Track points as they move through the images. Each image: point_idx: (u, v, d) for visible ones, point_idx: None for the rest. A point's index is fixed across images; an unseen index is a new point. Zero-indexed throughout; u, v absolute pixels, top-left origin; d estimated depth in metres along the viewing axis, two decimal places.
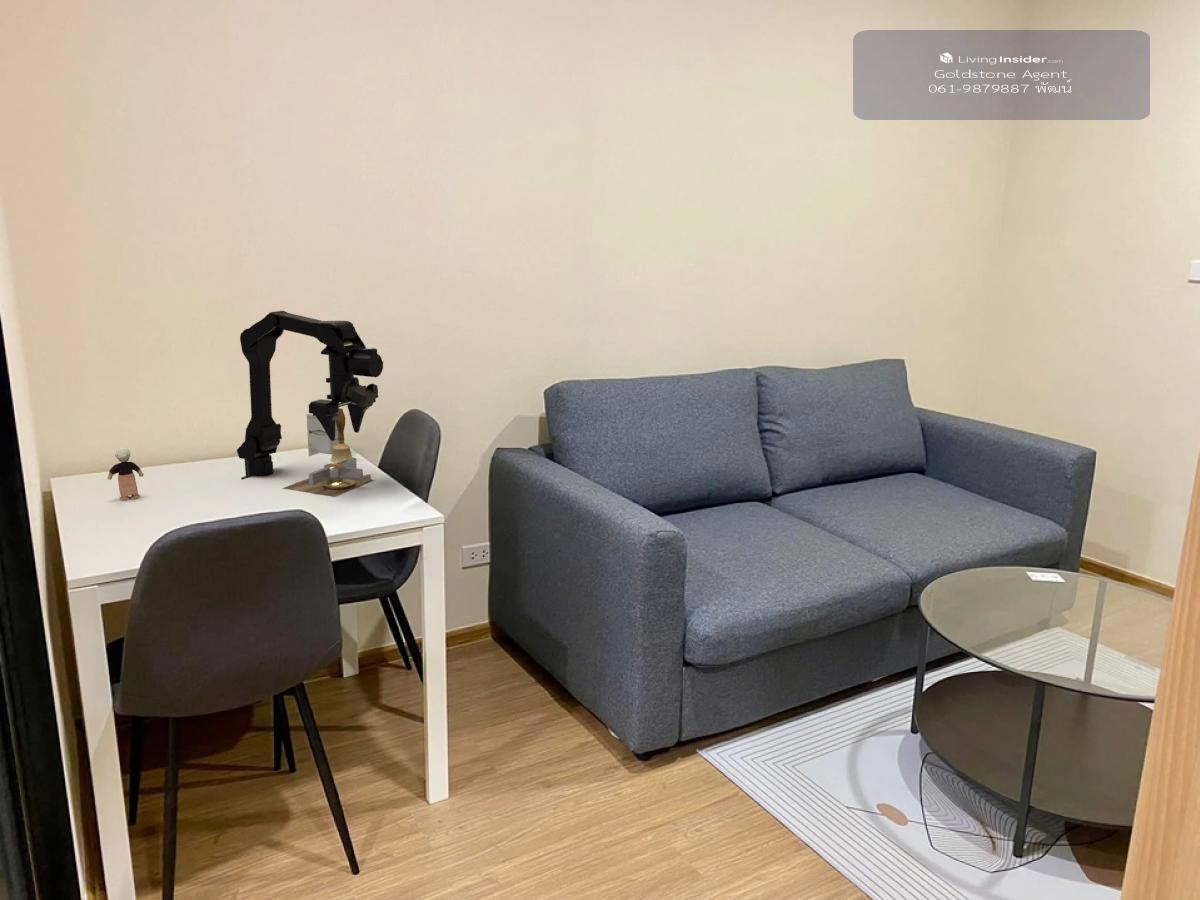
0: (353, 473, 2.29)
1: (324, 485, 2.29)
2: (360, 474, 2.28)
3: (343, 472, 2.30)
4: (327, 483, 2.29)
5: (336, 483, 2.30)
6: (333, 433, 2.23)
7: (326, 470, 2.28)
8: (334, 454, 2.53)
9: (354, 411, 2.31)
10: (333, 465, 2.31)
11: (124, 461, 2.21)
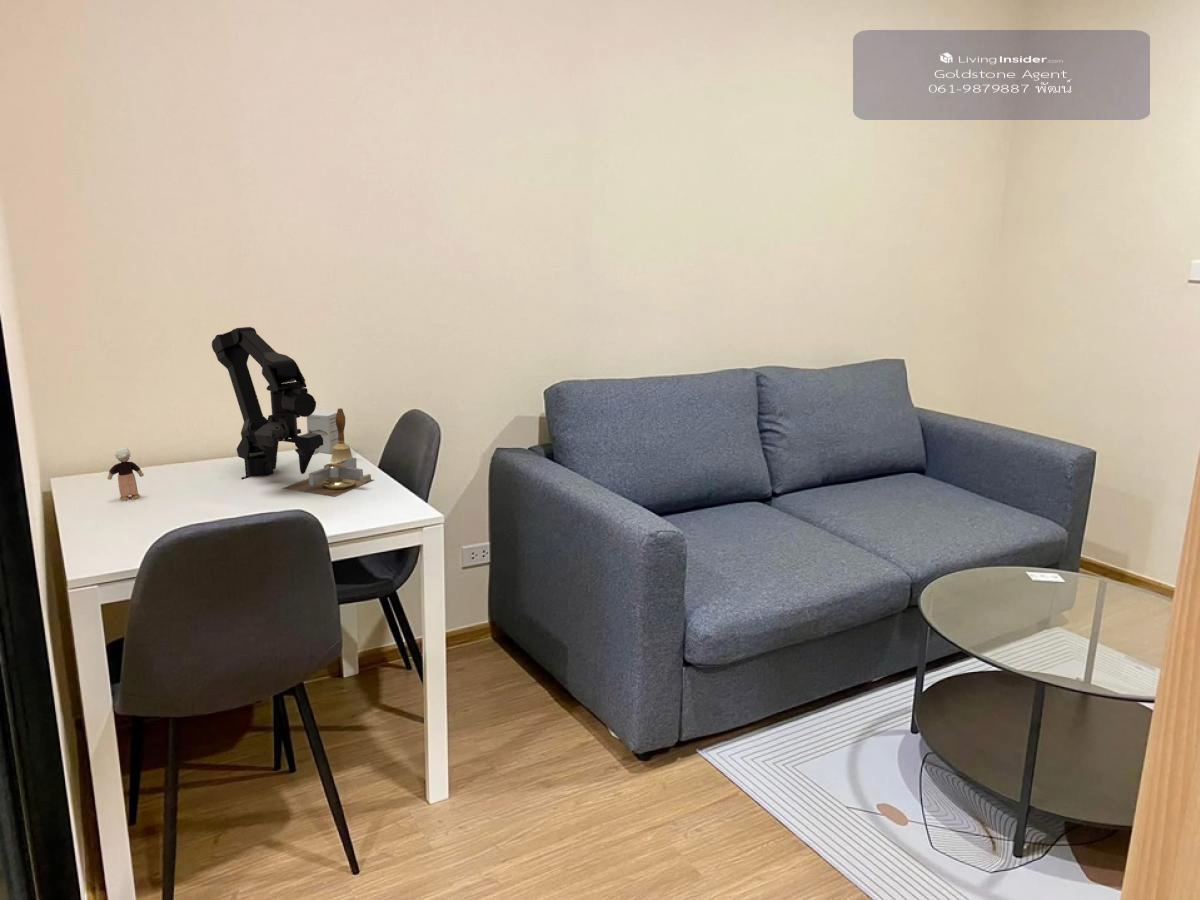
0: (353, 473, 2.29)
1: (324, 485, 2.29)
2: (360, 474, 2.28)
3: (343, 472, 2.30)
4: (327, 483, 2.29)
5: (336, 483, 2.30)
6: (268, 462, 2.32)
7: (326, 470, 2.28)
8: (334, 454, 2.53)
9: None
10: (333, 465, 2.31)
11: (124, 461, 2.21)
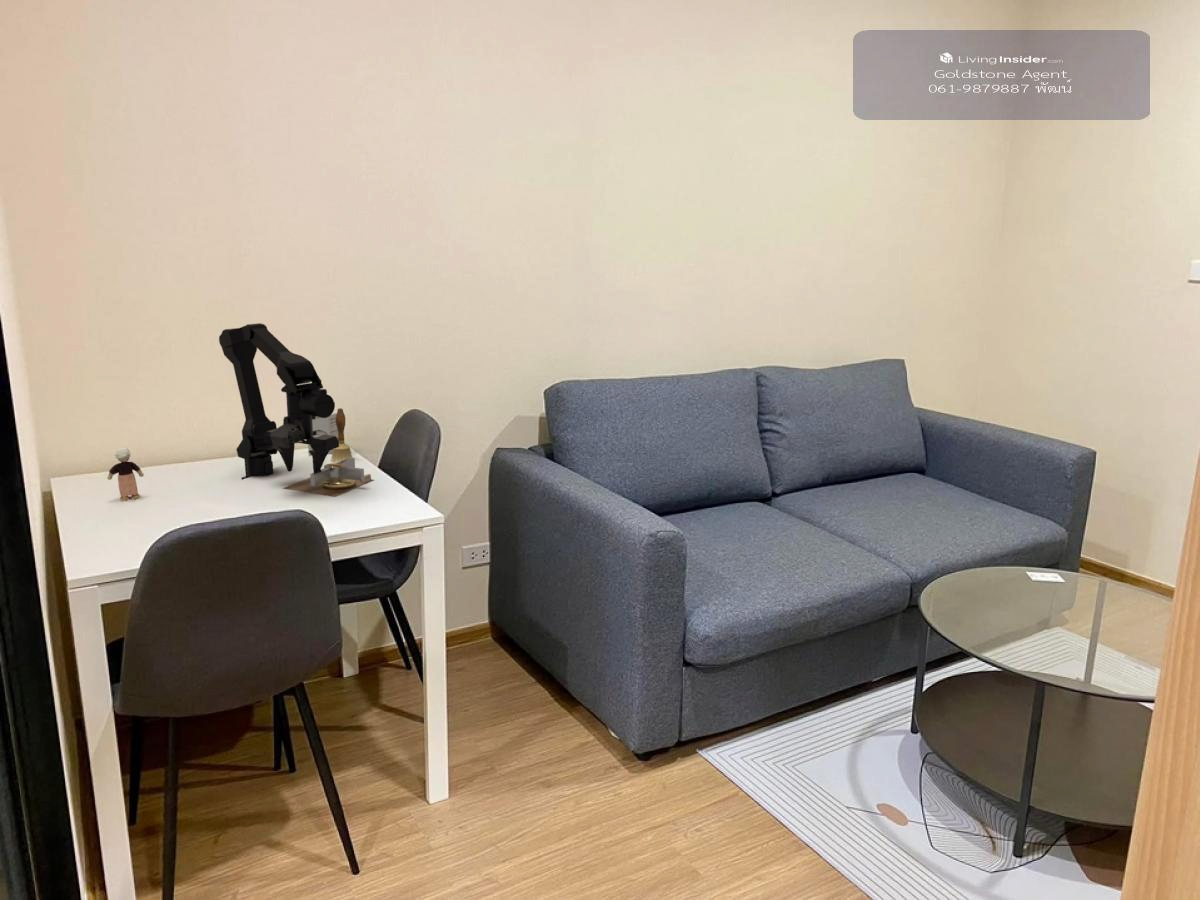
0: (354, 473, 2.29)
1: (325, 485, 2.29)
2: (361, 474, 2.29)
3: (343, 472, 2.30)
4: (328, 483, 2.29)
5: (337, 483, 2.30)
6: (285, 464, 2.30)
7: (327, 470, 2.28)
8: (334, 454, 2.53)
9: None
10: (333, 465, 2.31)
11: (124, 461, 2.21)
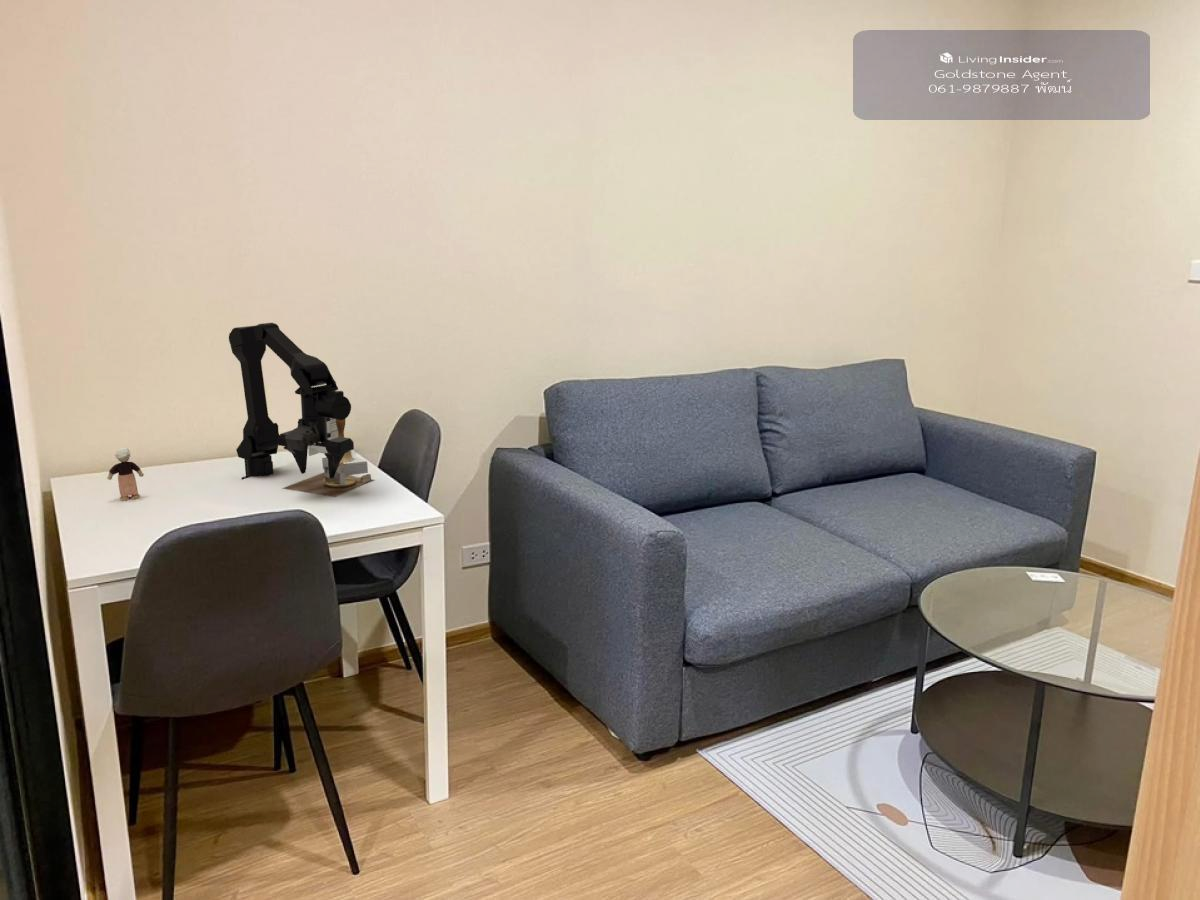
0: (360, 467, 2.35)
1: (337, 485, 2.30)
2: (367, 466, 2.36)
3: (347, 468, 2.33)
4: None
5: (346, 480, 2.32)
6: (299, 466, 2.28)
7: None
8: None
9: None
10: None
11: (124, 461, 2.21)
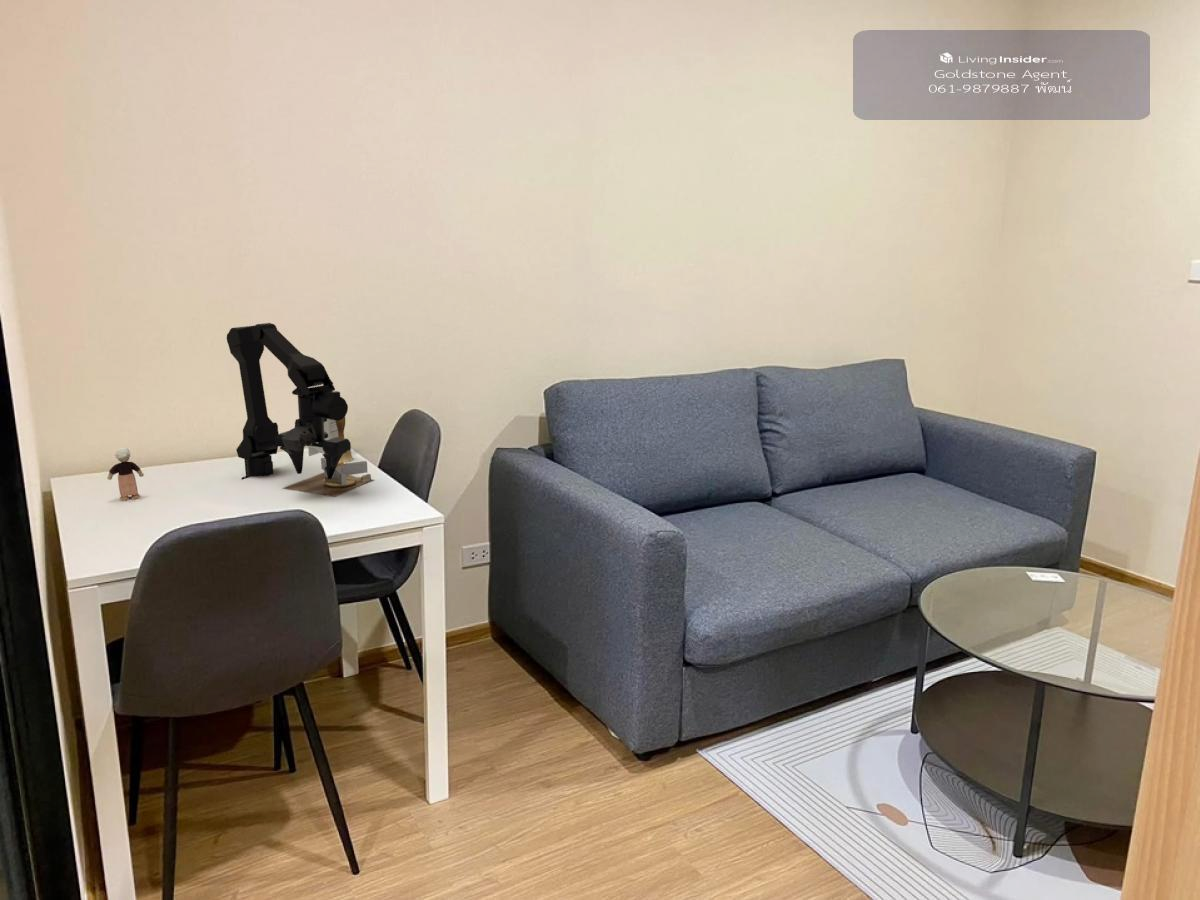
0: (359, 466, 2.35)
1: (338, 485, 2.30)
2: (366, 465, 2.36)
3: (347, 468, 2.33)
4: (340, 482, 2.30)
5: (346, 480, 2.32)
6: (295, 466, 2.29)
7: None
8: None
9: None
10: None
11: (124, 461, 2.21)
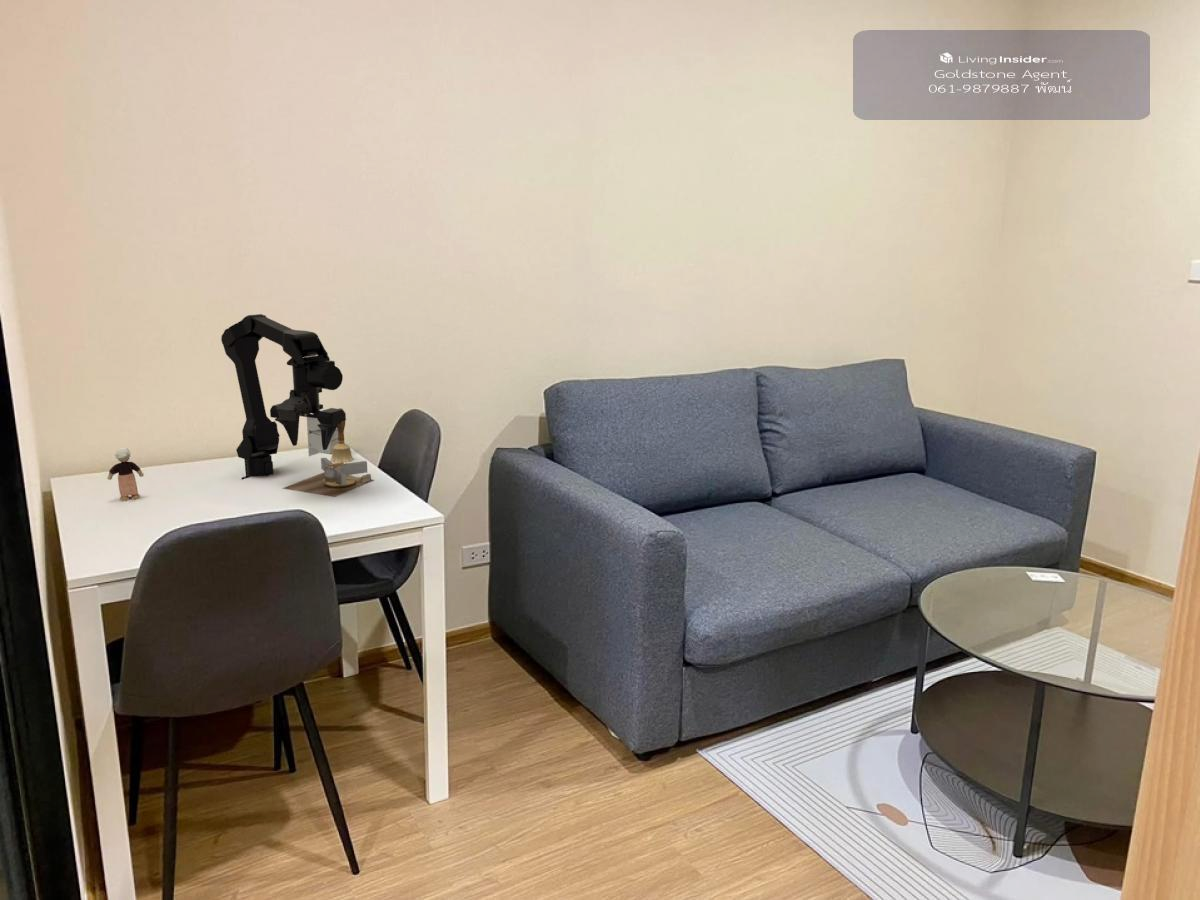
0: (359, 466, 2.35)
1: (338, 485, 2.30)
2: (366, 465, 2.36)
3: (347, 468, 2.33)
4: (340, 482, 2.30)
5: (346, 480, 2.32)
6: (290, 438, 2.28)
7: None
8: (334, 454, 2.53)
9: None
10: (335, 465, 2.31)
11: (124, 461, 2.21)
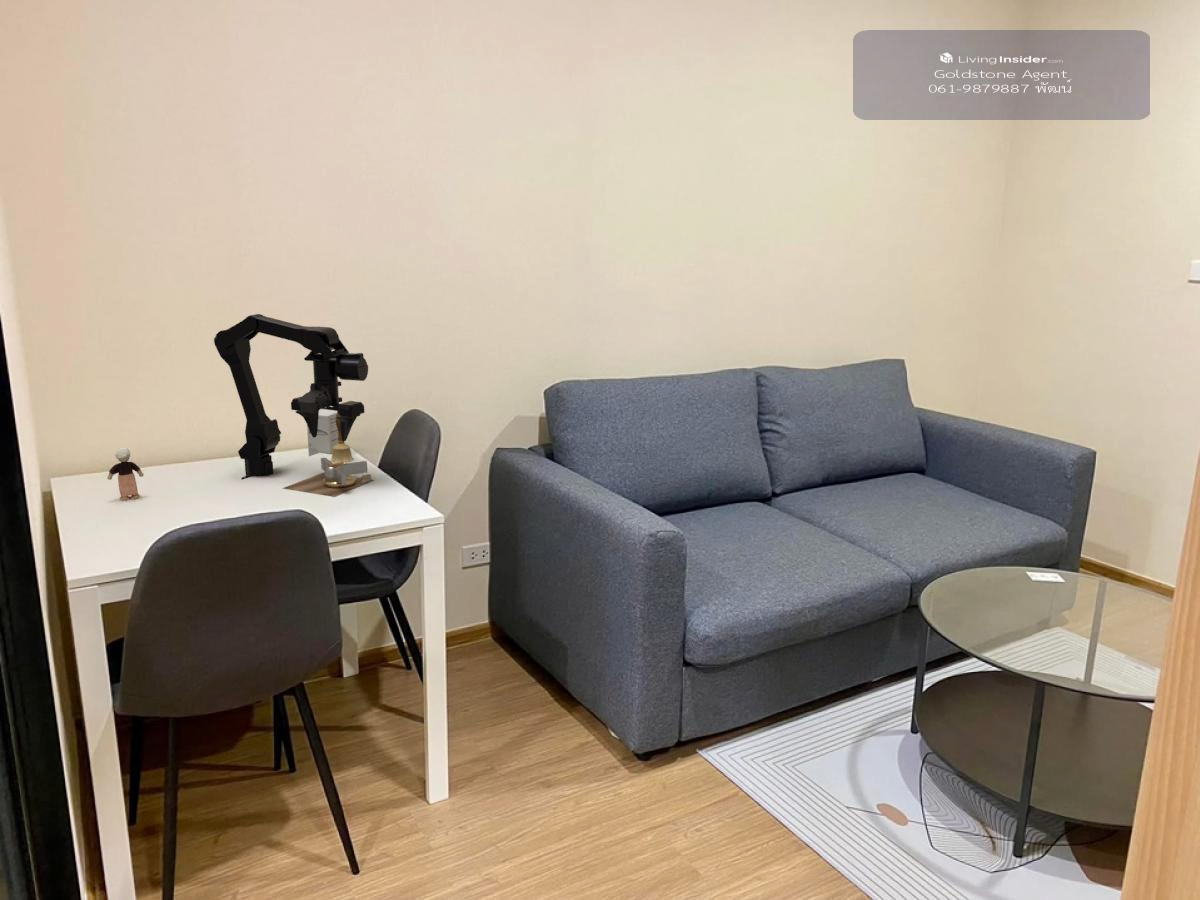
0: (359, 466, 2.35)
1: (338, 485, 2.30)
2: (366, 465, 2.36)
3: (347, 468, 2.33)
4: (340, 482, 2.30)
5: (346, 480, 2.32)
6: (310, 430, 2.36)
7: None
8: (334, 454, 2.53)
9: None
10: (335, 465, 2.31)
11: (124, 461, 2.21)
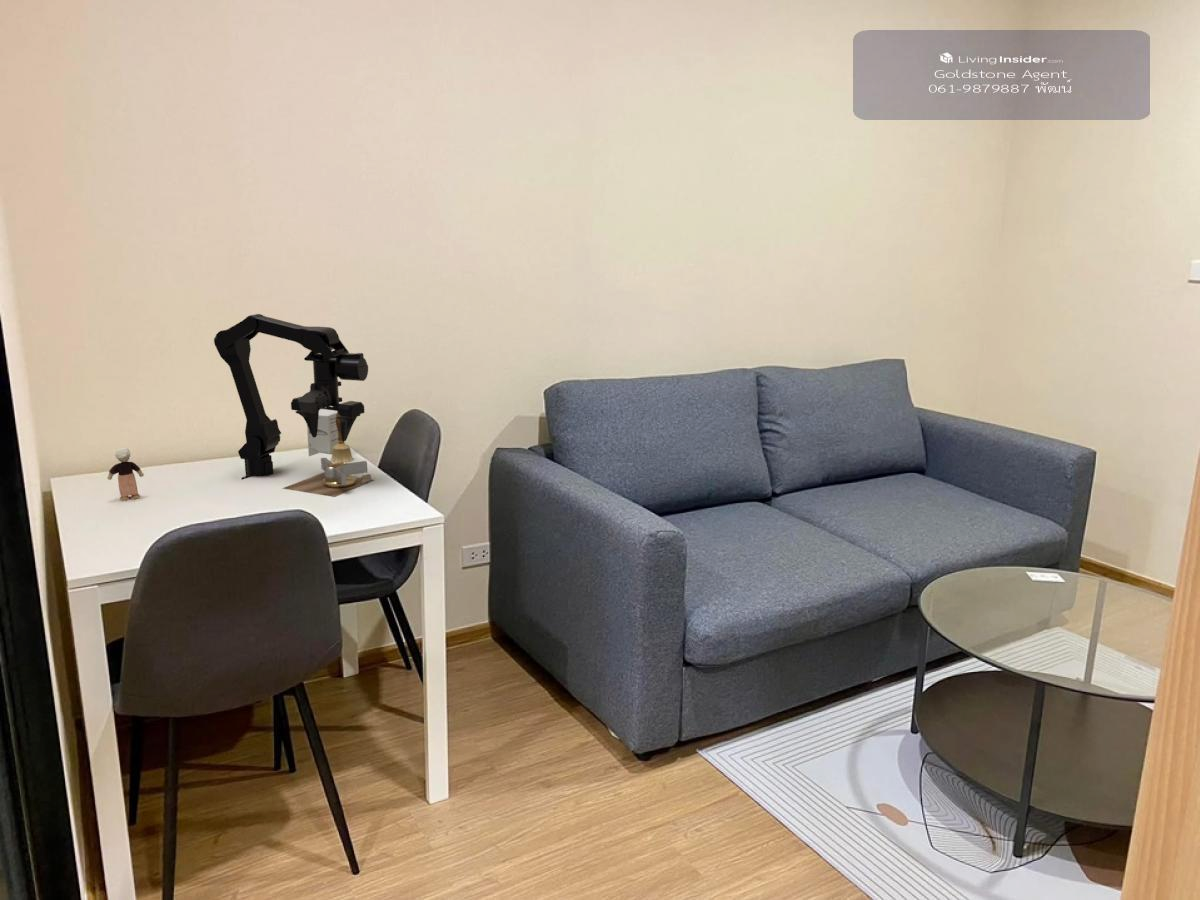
0: (359, 466, 2.35)
1: (338, 485, 2.30)
2: (366, 465, 2.36)
3: (347, 468, 2.33)
4: (340, 482, 2.30)
5: (346, 480, 2.32)
6: (310, 430, 2.36)
7: None
8: (334, 454, 2.53)
9: None
10: (335, 465, 2.31)
11: (124, 461, 2.21)
